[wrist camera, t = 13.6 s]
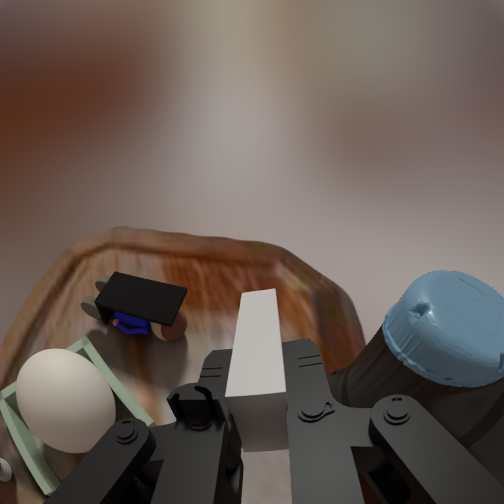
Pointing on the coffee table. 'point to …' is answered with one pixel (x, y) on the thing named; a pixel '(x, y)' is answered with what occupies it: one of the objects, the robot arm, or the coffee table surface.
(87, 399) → the ball
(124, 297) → the figurine character
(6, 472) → the light bulb
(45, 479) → the green u-shaped channel
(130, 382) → the coffee table surface
